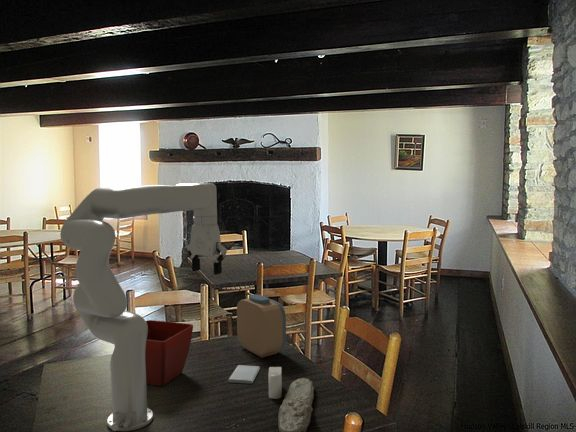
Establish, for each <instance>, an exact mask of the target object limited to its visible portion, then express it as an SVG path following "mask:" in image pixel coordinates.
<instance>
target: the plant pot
mask: <svg viewBox="0 0 576 432" xmlns="http://www.w3.org/2000/svg"><path fill="white" fill-rule="evenodd" d="M145 321H146V323H147V326H148V335H147V341H146V349H145V363H146V385H151V386H152V385H153V386H158V387H163V386H166V385H167V384H168V383H169V382H171V381H172V380H174V379H175V378H177V377H179V375H181V374H182V373H183V371H184V368H185V364H186V362H187V359H188V355H189V352H190V351H189V350H190V346H191V342H192V336H193V330H194V324H192V323H191V324H190V323H183V322H173V321H165V320H164V321H163V320H155V319H148V320H145Z"/></svg>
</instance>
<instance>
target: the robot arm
mask: <svg viewBox="0 0 576 432" xmlns="http://www.w3.org/2000/svg"><path fill="white" fill-rule="evenodd" d="M217 200H218V199H217V186H216V184H214V183H212V182H211V183H210V182H200V183H199V182H198V183H194V182H193V183H191V182H190V183H186V182H185V183H184V182H183V183H177V184H175V185H165V184H147V185H138V186H137V185H136V186H123V187H97V188H95V189H93V190H92V191H90V193H88V194H87V195H86V196H85V197H84V198H83V200H82V201H81V202H80V203H79V204H78V205H77V207H76V208H75V209H74V210H73V212H72V213H71V214H70V215H69V216H68V217H67V219H66V220H65V221H64V222H63V224H62V226H61V229H60V240H61V242H62V244H64V246H65V247H67V248H68V249H71V250H75V251H79V254H78V257H77V261H76V264H75V276H76V279H77V281H78V285H77V286H76V287H75V289H74V292H73V297H72V298H73V299H72V300H73V306H74V307H75V309H76V311H77V313H78V314H79V317H80V318H81V319H82V321H83V322H84V323H85V325H86V326H87V329H88V330H89V332H90V333H91V334H92V335H93V336H94V337H95V338H96V339H97V340H99V341H100V340H101V341H103V342H106V343H109V344H112V345H114V348H113V352H112V354H111V357H110V360H109V361H110V364H109V367H110V383H111V384H110V385H111V387H110V388H111V407H112V412H111V414H110V415H109V416H108V417H107V419H106V425H107V427H108V428H109V429H111V430H112V431H114V432H116V431H117V432H129V431H136V430H138V429H141V428H144V427H146V426H147V425H149V424H150V423H151V422H152V420H153V418H154V413H153V410H151V409H150V408H149V407H148V397H147V396H148V392H147V391H148V390H147V389H148V388H147V384H146V363H145V349H146V341H147V335H148V326H147V323H146V321H147V320H146V319H145V318H144V317H142V316H141V315H140V314H137V313H135V312H133V311H132V312H131V311H128V310H126V309H127V305H128V298H127V295H126V293H125V292H124V289H123V288H122V286H121V284H120V282H119V281H118V279H117V277H116V276H115V274H114V272H113V270H112V269H111V265H110V256H111V252H112V250H113V247H114V245H115V242H116V231H115V229H114V227H113V225H111V224H110V223H109V222H106V221H104V219H106V218H107V219H115V220H116V219H119V220H120V219H129V218H135V217H141V216H143V217H144V216H147V215H148V216H149V215H157V214H169V213H177V212H186V211H187V212H189V211H193V217H192V220H193V224H192V226H191V232H190V239H189V240H190V241H189V243H188V244H186V246H185V247H186V250H187V253H188V255H189V257H190V258H189V259H190V260H191V270H192V272H196V271H200V270H201V258H199V257H211V258H212V260H213V261H214V262H213V275H214V276H216V275H219V274H222V272H223V271H222V267H223V264H222V262H223V261H224V259H225V258H226V254H227V253H228V249H227V248H226V247H225V246H224V245H222V242H221V233H220V228H219V224H218V209H217V208H218V206H217V205H218V203H217V202H218V201H217Z"/></svg>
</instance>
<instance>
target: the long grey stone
mask: <svg viewBox="0 0 576 432" xmlns="http://www.w3.org/2000/svg"><path fill="white" fill-rule="evenodd" d="M314 390H315V387H314V384H313V381H312V380H310V378H305V377H299V378H297V379H296V380H293V381H292V382H291V383H290V385H289V387H288V390H287V392H286V393H285V394H284V398H283V400H282V402H281V403H282V404H281V405H280V406H279V409H278V413H277V414H278V417H277V419H278V422H277V423H278V425H277V428H278V431H279V432H307V430H308V427H309V426H310V423H311V418H312V412H313V410H314V409H313V407H312V404H313V400H314V396H315V395H314Z"/></svg>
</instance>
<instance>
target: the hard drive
mask: <svg viewBox="0 0 576 432" xmlns="http://www.w3.org/2000/svg"><path fill="white" fill-rule="evenodd" d="M234 369H235V370H234V371H233V372H232V373H231V375H230V376H229V378H228V380H227V381H228V383H234V384H235V383H237V384H251V385H252V384H253V383H254V381H255V379H256V377H257V375H258V373H259V372H260V370H261V366H258V365H243V364H238V365H237V366H236V368H234Z"/></svg>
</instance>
